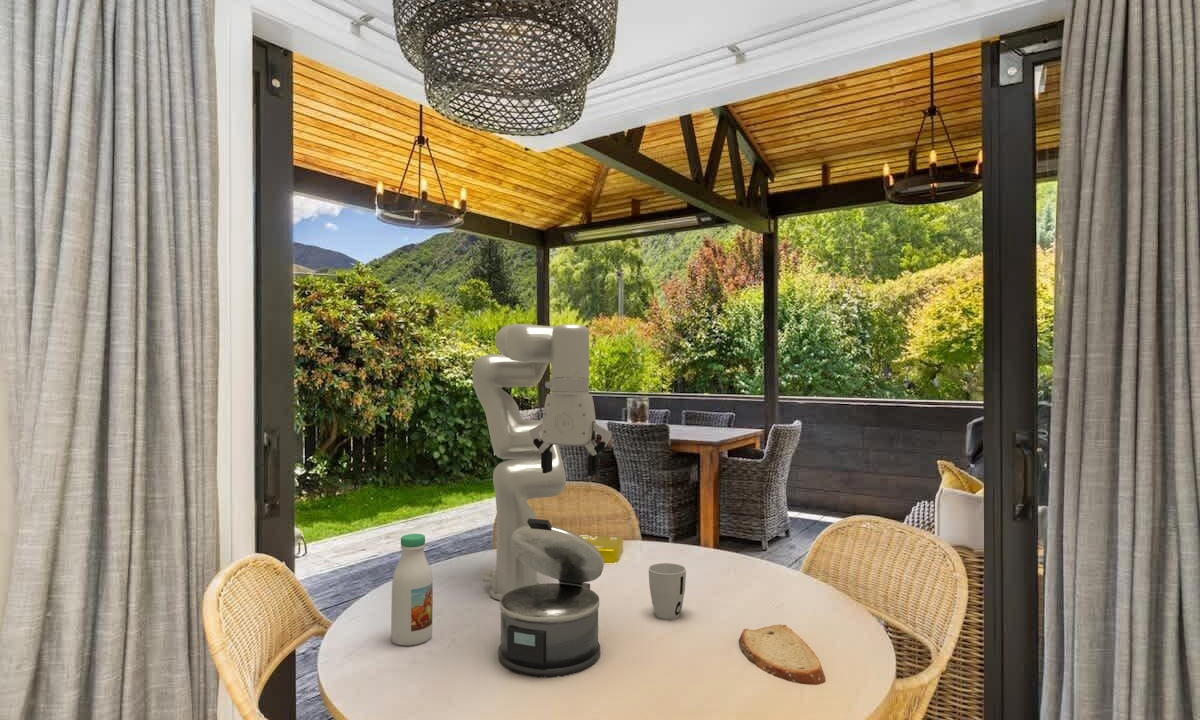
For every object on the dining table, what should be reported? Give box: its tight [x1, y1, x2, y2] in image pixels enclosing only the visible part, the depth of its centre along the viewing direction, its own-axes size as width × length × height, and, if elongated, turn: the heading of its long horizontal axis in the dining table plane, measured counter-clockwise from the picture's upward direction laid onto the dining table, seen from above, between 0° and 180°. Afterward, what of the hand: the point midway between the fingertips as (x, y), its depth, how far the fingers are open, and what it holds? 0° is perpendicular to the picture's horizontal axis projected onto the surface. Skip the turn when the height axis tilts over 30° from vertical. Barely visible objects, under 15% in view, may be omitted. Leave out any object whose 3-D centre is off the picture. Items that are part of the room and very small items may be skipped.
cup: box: [648, 562, 687, 620], centre depth 138 cm, size 8×8×10 cm
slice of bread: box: [738, 623, 827, 686], centre depth 117 cm, size 18×18×4 cm
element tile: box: [577, 534, 624, 563], centre depth 184 cm, size 15×15×5 cm
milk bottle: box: [390, 533, 434, 647], centre depth 125 cm, size 8×8×20 cm
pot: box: [497, 582, 601, 678], centre depth 119 cm, size 19×22×10 cm
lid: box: [510, 518, 605, 585], centre depth 121 cm, size 18×21×3 cm
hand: (569, 473), depth 126 cm, fingers open, 9 cm apart
